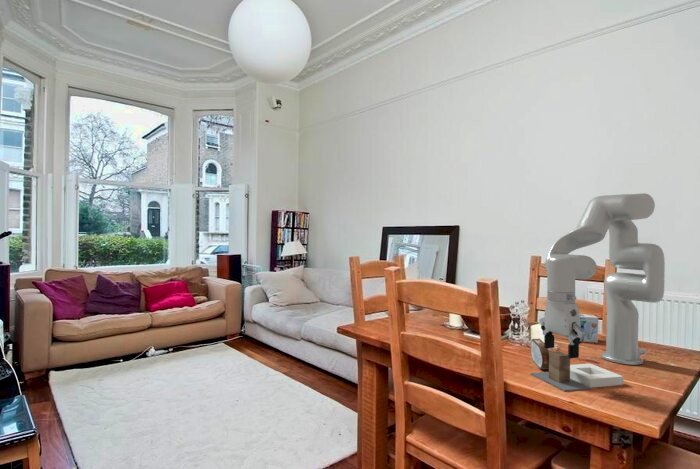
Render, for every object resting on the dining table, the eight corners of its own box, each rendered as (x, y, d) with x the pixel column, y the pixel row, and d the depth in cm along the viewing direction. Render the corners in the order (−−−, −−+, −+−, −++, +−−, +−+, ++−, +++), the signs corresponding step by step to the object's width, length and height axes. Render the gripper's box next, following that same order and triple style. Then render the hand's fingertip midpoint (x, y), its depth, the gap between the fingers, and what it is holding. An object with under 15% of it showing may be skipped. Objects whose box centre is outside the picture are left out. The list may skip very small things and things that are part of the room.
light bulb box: (571, 341, 167) (571, 316, 167) (565, 337, 173) (565, 313, 173) (598, 342, 165) (599, 317, 165) (591, 338, 171) (591, 314, 172)
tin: (551, 373, 126) (551, 347, 126) (540, 372, 127) (541, 346, 127) (538, 359, 141) (538, 336, 141) (529, 358, 141) (529, 335, 141)
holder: (589, 371, 129) (590, 363, 129) (623, 384, 117) (623, 376, 117) (559, 373, 126) (559, 365, 126) (590, 387, 114) (590, 379, 114)
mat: (554, 372, 127) (554, 371, 127) (590, 389, 113) (590, 387, 113) (530, 374, 125) (530, 373, 125) (564, 391, 111) (564, 390, 111)
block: (559, 377, 121) (559, 351, 122) (569, 381, 118) (570, 355, 118) (548, 378, 120) (549, 352, 120) (558, 382, 117) (559, 356, 117)
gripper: (595, 301, 112) (594, 360, 112) (550, 291, 128) (550, 343, 129) (573, 302, 110) (573, 363, 110) (530, 292, 127) (530, 345, 127)
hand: (560, 352), depth 119 cm, fingers open, 9 cm apart
